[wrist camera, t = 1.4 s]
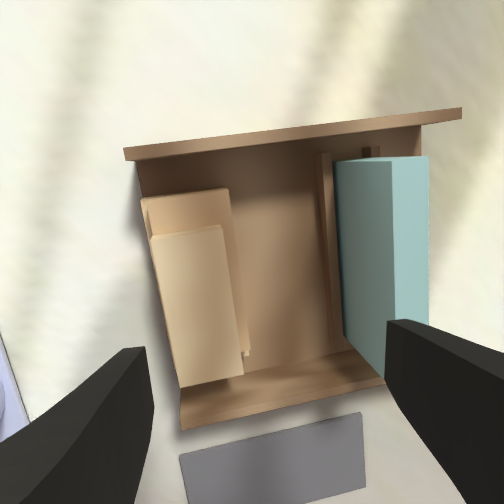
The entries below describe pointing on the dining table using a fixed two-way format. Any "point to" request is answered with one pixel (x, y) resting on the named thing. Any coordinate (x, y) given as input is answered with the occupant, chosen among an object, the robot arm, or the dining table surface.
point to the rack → (258, 261)
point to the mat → (280, 465)
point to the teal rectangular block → (381, 247)
